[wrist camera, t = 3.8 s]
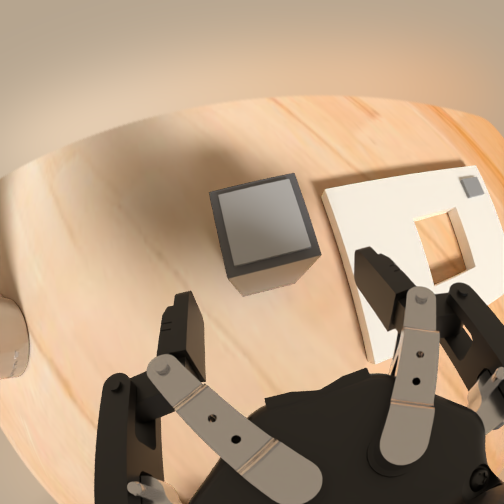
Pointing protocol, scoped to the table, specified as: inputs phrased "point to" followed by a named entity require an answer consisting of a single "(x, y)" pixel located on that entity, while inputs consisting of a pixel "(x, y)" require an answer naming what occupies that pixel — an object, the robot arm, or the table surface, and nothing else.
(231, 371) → the table surface
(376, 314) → the robot arm
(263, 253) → the grey rectangular peg
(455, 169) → the plate
